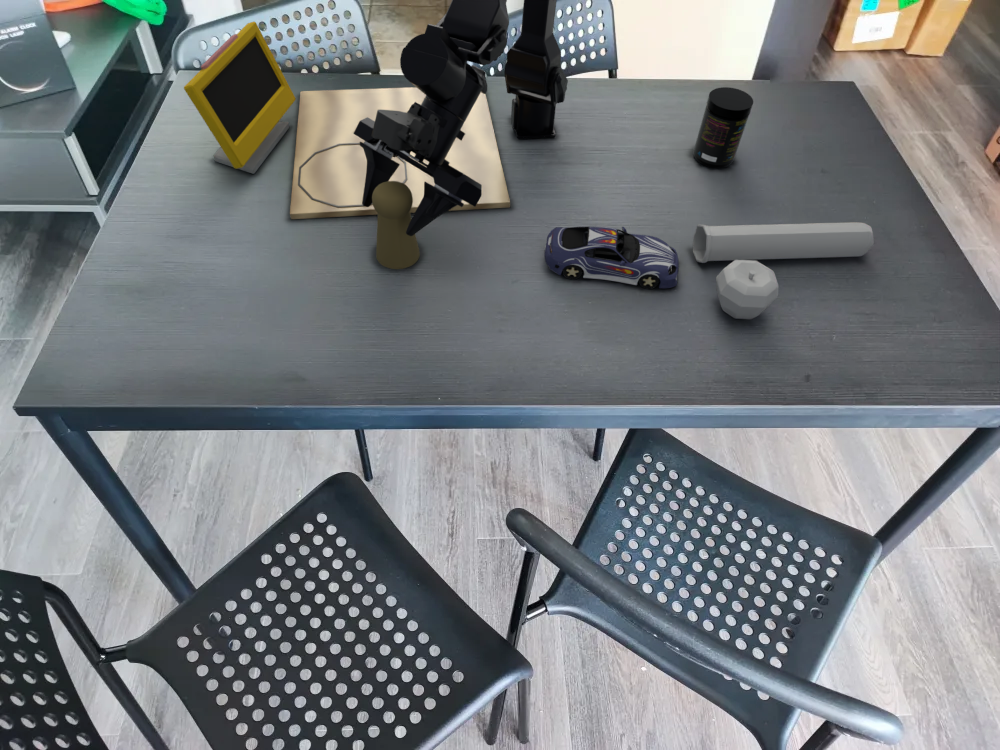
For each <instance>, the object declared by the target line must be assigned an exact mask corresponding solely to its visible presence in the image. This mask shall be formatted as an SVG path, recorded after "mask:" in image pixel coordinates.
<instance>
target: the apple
mask: <svg viewBox="0 0 1000 750" xmlns="http://www.w3.org/2000/svg"><path fill="white" fill-rule="evenodd" d="M715 279H716V280H715V287H716V288H715V289H716V293H717V296H718V300H719V301H718V302H719V304H720V307H721V309H722V311H723V312H724V313H725V314H727V315H729V316H730V317H732V318H733V319H739V320H752V319H755V318H756V317H758V316H760V315H761V314H762V313H763V312H765V310H766V309H767V308H769V307H770V305H771V304H773V302H774V301H775V300H777V298H778V297H779V283H778V279H777V276H776V274H775V271H774V270H772V269H771V268H769V267H768V266H766V265H764V264H763V263H761V262H760V261H758V260H732V262H730V263H729V264H728V265H727V266H725V267H724V268H723V269H722V270H721V271H720V272H719V273H718V274H717V275H716V276H715Z"/></svg>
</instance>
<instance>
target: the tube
mask: <svg viewBox="0 0 1000 750" xmlns="http://www.w3.org/2000/svg"><path fill="white" fill-rule="evenodd" d="M874 245H875V239H874V232H873V229H872V226H871V225H868V224H867V223H865V222H858V221H857V222H856V221H855V222H817V223H814V222H813V223H780V224H779V223H776V224H740V225H739V224H737V225H735V224H734V225H707V224H697V225H696V227H695V230H694V233H693V237H692V253H693V256H694V258H695V260H696V262H697V263H701V264H705V263H707V262H714V261H715V262H717V261H718V262H719V261H734V260H751V261H755V260H783V259H786V260H787V259H817V258H818V259H819V258H847V257H852V258H853V257H863V256H864V255H865V254H866V253H868V251H869V250H871V248H873V246H874Z"/></svg>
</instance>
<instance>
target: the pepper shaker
mask: <svg viewBox="0 0 1000 750" xmlns="http://www.w3.org/2000/svg"><path fill="white" fill-rule="evenodd" d="M372 203H373V206H374V209H375V210H376V212H377V213H378V215H377V219H376V220H377V221H376V222H377V223H376V246H375V247H376V249H375V250H376V251H375V256H376V260H377V262H378V263H379V264H380V265H381V266H382V267H385V268H387V269H391V270H404V269H407V268H410V267H412V266H414V265H415V264H416V263H417V262H418V261H419V259H420V255H421V253H420V248H419V244H418V240H417V235H416V234H414V235H413V236H409V235H407V234H406V230H407V228H408V225H409V223H410V221H411V219H412V215H411V214H412V213H410V210H411V207H412V204H413V197H412V193H411V191H410V189H409V188H408V187H407V185H405V184H404V183H401V182H398V181H387V182H383V183H381V184H379V185H378V186H377V187H376V188H375V190H374V192H373V194H372Z"/></svg>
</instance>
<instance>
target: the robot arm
mask: <svg viewBox="0 0 1000 750" xmlns="http://www.w3.org/2000/svg"><path fill="white" fill-rule="evenodd" d="M507 2H508V0H451V2H450V4H449V6H448V8H447V11H446V13H445V14H444V15H443V16H442V17H441V19H439V21H438V22H437V23H436V24H432V23H427V25H426V27H425V31H424V33H421V34H418V35H416V36H414V37H412V38H411V39H410V41H408V42H407V44H406V45H405V47H403V48H402V50H401V53H400V59H399V64H400V65H399V67H400V69H401V73H402V75H403V76H404V78H405V79H406V81H408V82H409V83H410V84H412V85H413V87H417V88H418V89H419V90H420V91H421V92H423V93H424V94H425V95H426V97H425V98H424V100H423V102H422V104H421V105H420V104H418V103H416V102H414V104H412V105H411V107H410V109H409V110H408V112H407V113H406V112H401V111H393V110H377V115H376V119H375V121H373V120H372V119H370V118H368V117H367V118H365V119H363V120H361V121H359V123H358V125H357V127H356V129H355V131H354V133H353V134H355V135H356V136H358V137H360V138H361V139H363V140H364V141H365V142H364V143H362V142H360V146H361V147H362V148H363V149H364V152H365V156H366V159H367V170H366V179H365V186H364V193H363V200H362V205H364V206H366V207H369V206H370V205H371V204H372V194H373V192H374V190H375V188H376V187H377V186H378V185H379V184H381V183H383V182H387V181H389V179H390V178H391V176H392V175H393V174H394V172H395V171H396V170H397V168H398V167H399V165H400V164H398V163H397V162H395V161H394V160H392V157H394V158H395V157H397V156H398V157H400V158H402V159H403V160H405V161H407V162H408V163H410V164H412V165H413V166H415V167H417V168H418V169H420V170H421V171H423V172H425V173H426V174H428V175H430V176H431V177H433V178H434V183H435V185H434V186H433V185H431V184H429V183H427V182H424V196H423V199H422V200H421V202H420V204H419V206H418V208H417V210H416V212H415V213H413V215H412V216H411V218H412V219H411V221H410V223H409V225H408V228H407V230H406V234H407V235H409V236H413V235H414V234H415V235H416V234H417V233H419V232H420V231H421V230H423V229H424V228H425V227H426V226H427V225H429V224H431V223H432V222H433V221H435V220H436V219H437V218H439V217H440V216H442V215H444V214H445V213H447V212H449V211H448V210H450V209H452V208H453V207H455V206H457V205H459V206H461V207H463V205H464V203H462V200H464V201H465V202H467V203H469V204H471V205H473V206H474V207H476V205H477V203H478V201H479V199H480V198H481V196H482V185H481V184H479V183H478V182H476V181H475V180H473V179H471V178H470V177H468V176H467V175H465V174H463V173H462V172H460V171H458V170H456V169H455V168H453V167H451V166H450V165H449V163H450V162H448V161H447V160H445V158H446V156H447V154H448V152H449V150H450V148H451V146H452V145H453V143H454V141H455V139H456V138H458V139H459V140H461V141H462V139H463V137H464V135H465V133H464V132H462V131H461V128H462V126H463V124H464V122H465V120H466V119H467V117H468V115H469V113H470V111H471V109H472V107H473V106H474V104H475V102H476V100H477V98H478V96H479V94H480V93H483V94H486V93H487V92H488V83H487V78H486V76H487V72H486V70H483V69H482V68H479V67H477V66H476V65H480V66H486V65H490V64H492V63H493V62H496V61H497V60H498V59H499V58H500V57H501V56H502V55H503V54H504V52H505V49H506V48H507V46H508V37H507V36H508V29H509V27H510V26H509V25H510V17H509V12H508V7H507ZM556 7H557V0H523V6H522V19H521V29H520V35H519V36H518V38H517V39H516V40H515V42H514V44H513V45H512V46H511V47H510V48H509V49H508V51H507V52H506V61H505V65H504V71H503V74H504V81H505V87H506V93H507V94H512V95H514V96H515V98H512V99H511V112H510V124H511V126H512V130H513V131H515V136H516V138H517V139H518V140H519V139H522V140H523V139H524V140H525V139H543V138H544V139H545V138H555V137H556V131H555V127H554V126H555V118H556V108H557V104H561V103H564V102H565V99H566V92H567V90H568V83H569V80H568V78H567V75H565V73H564V71H563V68H561V63H562V51H561V48H560V46H559V44H558V41H557V39H556V36H555V34H554V28H555V27H554V26H555V19H556V18H555V17H556V9H557V8H556ZM467 62H470V63H473V64H469V63H467ZM474 64H476V65H474ZM486 95H487V94H486ZM411 151H412V152H413V153H415V154H416V155H415V157H414V156H412V155H410V152H411ZM408 156H409V157H408ZM410 157H411V158H410ZM413 159H414V160H413ZM424 159H425V160H427V161H428V162H429V164H428V165H427V164H426V163H424V162H423V161H424ZM415 160H416V161H415ZM418 162H419V163H418ZM420 163H421V164H420ZM422 164H423V165H424V166H423V165H422ZM425 166H426V167H425Z"/></svg>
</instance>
